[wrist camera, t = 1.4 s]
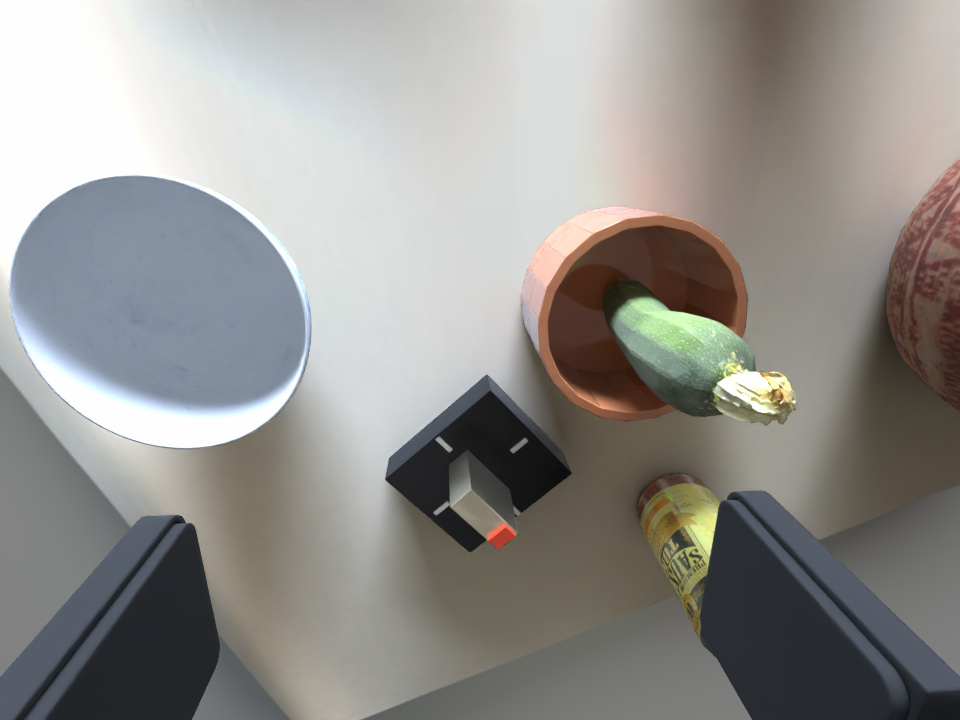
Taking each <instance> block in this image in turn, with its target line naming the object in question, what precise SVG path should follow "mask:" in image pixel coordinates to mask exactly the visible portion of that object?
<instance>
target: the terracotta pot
mask: <svg viewBox="0 0 960 720" xmlns="http://www.w3.org/2000/svg"><path fill="white" fill-rule="evenodd" d="M616 280H636V281H638V282H640V283H641V284H643V285H644V286H645V287H647V288H649V289H650V290H651V291H652V292H653V293H654V294H655V295H656V296H657V297H658V298H659V299H660V300H661V301H662V302H663V303H664V304H665V305H666V306H667V308H668V309H669V310H670V311H675V312H684V313H688V314H692V315H696V316H700V317H704V318H708V319H711V320H714V321H717V322H719V323H721V324H723V325H724V326H726V327H727V328H729V329H730V330H732V331H733V332H734V333H735V334H737V335H738V336H739V337H740V338H741V339H742V337H743V334H744V332H745V328H746V316H747V303H748V297H747V296H748V295H747V291H746V287H745V283H744V279H743V275H742V272H741V268H740V266H739V264H738V262H737V261H736V259H735V258H734V257H733V255H732V254H731V252H730V251H729V249H728V248H727V247H726V245H725V244H724V242H723V241H722V240H721V239H720V238H718V237H717V236H715V235H714V234H712V233H711V232H709V231H708V230H706V229H705V228H703V227H702V226H700V225H699V224H697V223H696V222H694V221H690V220H685V219H681V218H677V217H672V216H668V215H663V214H659V213H654V212H649V211H644V210H639V209H635V208H630V207H625V206H618V207H606V208H599V209H594V210H590V211H588V212H585V213H582V214H580V215H578V216H575V217H573V218H572V219H570V220H568V221H567V222H565V223H563V224H562V225H561V226H560V227H558V228H557V229H556V230H554V231H553V232H552V233H551V234H550V235H549V236H548V237H547V238H546V239H545V241H544V242H543V243H542V244H541V246H540V247H539V248H538V250H537V251H536V253H535V255H534V256H533V258H532V260H531V262H530V264H529V266H528V269H527V271H526V275H525V278H524V282H523V288H522V295H521V299H522V300H521V306H522V315H523V322H524V325H525V327H526V330H527V332H528V334H529V337H530V339H531V341H532V344H533V346H534V348H535V350H536V352H537V354H538V356H539V358H540V360H541V362H542V363H543V365H544V367H545V369H546V371H547V373H548V375H549V377H550V379H551V381H552V382H553V383H554V384H555V385H556V386H557V388H558V389H559V390H560V391H561V392H562V393H563V394H564V395H565V396H566V397H567V398H568V399H569V400H570V402H572V403H573V404H575V405H577V406H579V407H581V408H583V409H585V410H587V411H588V412H590V413H592V414H594V415H596V416H599V417H604V418H610V419H616V420H622V421H634V420H642V419H650V418H657V417H661V416H663V415H665V414H668V413H670V412H673V411H675V410H677V409H675V408H674V407H672V406H670V405H669V404H667V403H666V402H664V401H663V400H662V399H660V398H659V397H658V396H657V395H656V394H655V393H654V392H653V391H652V390H651V389H650V388H649V387H648V386H647V385H646V384H645V383H644V382H643V381H642V380H641V378H640V377H639V376H638V375H637V373H636V371H635V370H634V368H633V366H632V365H631V363H630V362H629V361H628V359H627V358H626V356H625V355H624V353H623V351H622V350H621V349H620V347H619V346H618V344H617V343H616V341H615V340H614V338H613V337H612V335H611V333H610V331H609V328H608V326H607V323H606V319H605V315H604V308H603V304H602V302H603V298H604V296H605V294H606V291H607V287H608V285H611V284H614V283H615V282H616Z"/></svg>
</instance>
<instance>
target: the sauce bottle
mask: <svg viewBox="0 0 960 720" xmlns="http://www.w3.org/2000/svg"><path fill="white" fill-rule="evenodd" d="M719 505H720V501H719V500H718V499H717V498H716V496H715V495H714V494H713V493H712V492H711V491H710V490H708V489H707V488H706V487H705V486H704V485H703V484H702V482H701V481H700V480H698V479H697V478H695V477H693V476H690V475H688V474H680V473H678V474H670V475H665V476H662V477H659V478H658V479H656V480H654V481H653V482H652V483H651V484H649V485H648V487H647V488H646V489H645V490H644V492H643V493H642V495H641V497H640V499H639V500H638V506H637V512H638V516H639V520H640V522H641V528H642V531H643V533H644V535H645V537H646V539H647V541H648V542H649V544H650V546H651V548H652V550H653V552H654V554H655V556H656V558H657V560H658V561H659V563H660V565H661V567H662V569H663V571H664V573H665V575H666V577H667V579H668V580H669V582H670V584H671V586H672V587H673V590H674V592H675V594H676V596H677V597H678V599H679V601H680V603H681V605H682V606H683V608H684V610H685V612H686V614H687V616H688V618H689V620H690V622H691V624H692V626H693V627H694V630H695V632H696V633H697V635H698V637H699V639H700V640H701V642H702V644H703V646H704V647H705V648H707V649H708V650H709V651H710V652H711V653H712V654H713V655H714V656H715V654H714V652H713V651H712V649H711V647H710V645H709V644H708V642H707V640H706V639H705V637H704V634H703V632H702V629H701V624H700V611H701V605H702V599H703V594H704V588H705V582H706V577H707V571H708V565H709V559H710V554H711V548H712V542H713V537H714V531H715V525H716V519H717V514H718V508H719ZM715 657H716V656H715Z"/></svg>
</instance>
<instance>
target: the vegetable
mask: <svg viewBox="0 0 960 720" xmlns="http://www.w3.org/2000/svg"><path fill="white" fill-rule="evenodd" d="M602 304H603V308H604V315H605V319H606V323H607V326H608V328H609V331H610V333H611V335H612V337H613V338H614V340H615V341H616V343H617V344H618V346H619V347H620V349H621V350H622V351H623V353H624V355H625V356H626V358H627V359H628V361H629V362H630V363H631V365H632V366H633V368H634V370H635V371H636V373H637V375H638V376H639V377H640V378H641V380H642V381H643V382H644V383H645V384H646V385H647V386H648V387H649V388H650V389H651V390H652V391H653V392H654V393H655V394H656V395H657V396H658V397H659V398H660V399H662V400H663V401H664V402H666V403H667V404H669V405H670V406H672V407H674V408H675V409H677V410H678V411H680V412H683V413H686V414H688V415H691V416H698V417H707V416H715V415H723V414H725V415H727V416H729V417H732V418H734V419H738V420H741V421H744V422H751V423H756V422H759V423H763V424H764V425H765V426H766V425H768V424H769V423H771V420H778V423H780V424H784V422H785V421H786V420H787V416H788V415H789V414H790V412H791V411H792V410H796V400H795V398H794V395H795V393H794V391H793V390H791V386H790V383H789V382H788V380H787V378H786V377H785V376H784V375H783V374H782V373H777V372H772V371H771V372H768V373H764V372H762V371H761V372H759V373H758V372H756V368H755V358H754V355H753V353H752V350H751V349H750V348H749V347H748V346H747V344H746V343H745V342H744V341H743V340H742V339H741V338H740V337H739V336H738V335H737V334H735V333H734V332H733V331H732V330H730V329H729V328H727V327H726V326H724V325H723V324H721V323H719V322H717V321H714V320H711V319H708V318H704V317H700V316H696V315H692V314H688V313H684V312H675V311H670V310H669V309H668V308H667V306H666V305H665V304H664V303H663V302H662V301H661V300H660V299H659V298H658V297H657V296H656V295H655V294H654V293H653V292H652V291H651V290H650V289H649V288H647V287H645V286H644V285H643V284H641V283H640V282H638V281H636V280H616V282H615V283H614V284H611V285H608V287H607V291H606V294H605V296H604V298H603V302H602Z"/></svg>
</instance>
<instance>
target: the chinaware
mask: <svg viewBox="0 0 960 720" xmlns="http://www.w3.org/2000/svg"><path fill="white" fill-rule="evenodd" d="M9 300H10V307H11V313H12V317H13V321H14V325H15V328H16V331H17V334H18V336H19V339H20V341H21V343H22V346H23V348H24V350H25V352H26V354H27V355H28V357H29V359H30V361H31V362H32V364H33V365H34V367H35V368H36V370H37V371H38V373H39V374H40V375H41V377H42V378H43V379H44V380H45V382H46V383H47V384H48V385H49V386H50V387H51V389H52V390H53V391H54V392H55V393H56V394H57V395H58V396H59V397H60V398H61V399H63V400H64V401H65V402H66V403H67V404H68V405H69V406H71V407H72V408H73V409H74V410H76V411H77V412H78V413H80V414H81V415H82V416H84V417H85V418H87V419H88V420H90V421H92V422H93V423H95V424H97V425H98V426H100V427H102V428H104V429H106V430H108V431H110V432H112V433H114V434H117V435H119V436H121V437H124V438H127V439H130V440H133V441H136V442H139V443H143V444H147V445H152V446H157V447H163V448H172V449H199V448H208V447H214V446H218V445H223V444H226V443H230V442H233V441H235V440H238V439H241V438H243V437H245V436H247V435H249V434H251V433H253V432H255V431H256V430H258V429H260V428H261V427H263V426H264V425H265V424H267V423H268V422H269V421H271V420H272V419H273V418H274V417H275V416H276V415H277V414H278V413H279V412H280V411H281V410H282V409H283V408H284V407H285V405H286V404H287V403H288V402H289V400H290V399H291V397H292V396H293V394H294V393H295V391H296V389H297V387H298V385H299V383H300V381H301V379H302V377H303V374H304V371H305V368H306V365H307V361H308V357H309V351H310V344H311V313H310V306H309V301H308V297H307V293H306V289H305V286H304V283H303V281H302V278H301V276H300V274H299V271H298V269H297V267H296V265H295V264H294V262H293V260H292V258H291V257H290V255H289V254H288V252H287V251H286V249H285V248H284V247H283V245H282V244H281V243H280V241H279V240H278V239H277V238H276V237H275V236H274V234H273V233H272V232H271V231H270V230H269V229H268V228H267V227H266V226H265V225H264V224H263V223H262V222H260V221H259V220H258V219H257V218H256V217H254V216H253V215H252V214H251V213H249V212H248V211H246V210H245V209H244V208H242V207H241V206H239V205H238V204H236V203H234V202H233V201H231V200H229V199H227V198H226V197H224V196H222V195H220V194H218V193H216V192H214V191H211V190H209V189H207V188H204V187H202V186H199V185H196V184H194V183H191V182H188V181H184V180H181V179H177V178H173V177H168V176H163V175H156V174H146V173H121V174H112V175H106V176H101V177H97V178H93V179H90V180H87V181H84V182H81V183H79V184H76V185H74V186H72V187H70V188H68V189H66V190H64V191H63V192H61V193H59V194H58V195H56V196H55V197H54V198H52V199H51V200H50V201H48V202H47V203H46V204H45V205H44V206H43V207H42V208H41V209H40V210H39V211H38V212H37V213H36V214H35V215H34V216H33V218H32V219H31V220H30V222H29V223H28V224H27V226H26V227H25V229H24V231H23V233H22V234H21V236H20V238H19V241H18V243H17V245H16V248H15V251H14V254H13V258H12V262H11V267H10V274H9Z"/></svg>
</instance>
